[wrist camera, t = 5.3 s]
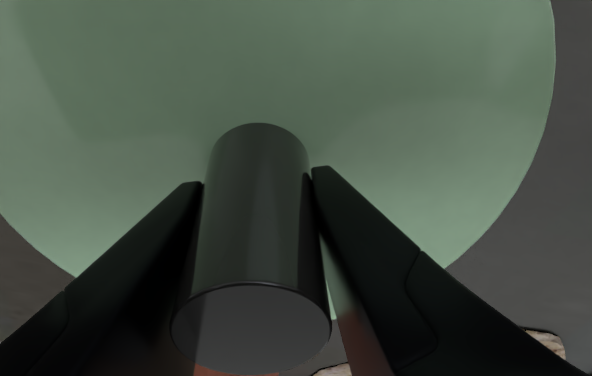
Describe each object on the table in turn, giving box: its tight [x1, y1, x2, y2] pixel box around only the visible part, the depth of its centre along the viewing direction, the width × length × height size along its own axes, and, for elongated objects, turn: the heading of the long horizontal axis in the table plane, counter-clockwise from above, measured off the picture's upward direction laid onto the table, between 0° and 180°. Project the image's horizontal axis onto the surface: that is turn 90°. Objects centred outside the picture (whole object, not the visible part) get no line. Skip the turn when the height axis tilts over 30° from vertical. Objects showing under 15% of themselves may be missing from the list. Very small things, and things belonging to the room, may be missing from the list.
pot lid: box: [0, 0, 556, 375], centre depth 8 cm, size 14×14×6 cm
